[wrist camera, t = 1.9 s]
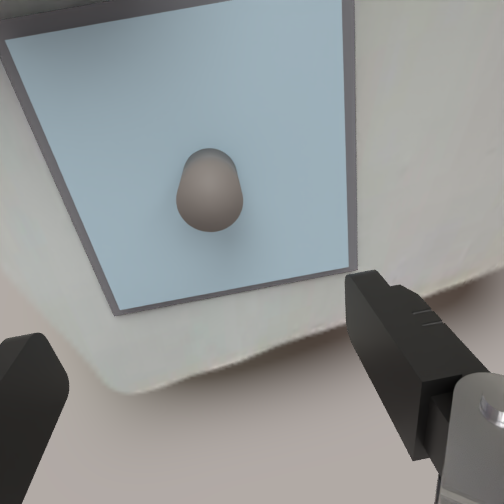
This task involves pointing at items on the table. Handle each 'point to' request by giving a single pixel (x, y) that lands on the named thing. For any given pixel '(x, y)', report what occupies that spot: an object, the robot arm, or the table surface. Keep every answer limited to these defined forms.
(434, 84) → the table surface
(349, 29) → the mat
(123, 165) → the sheet
